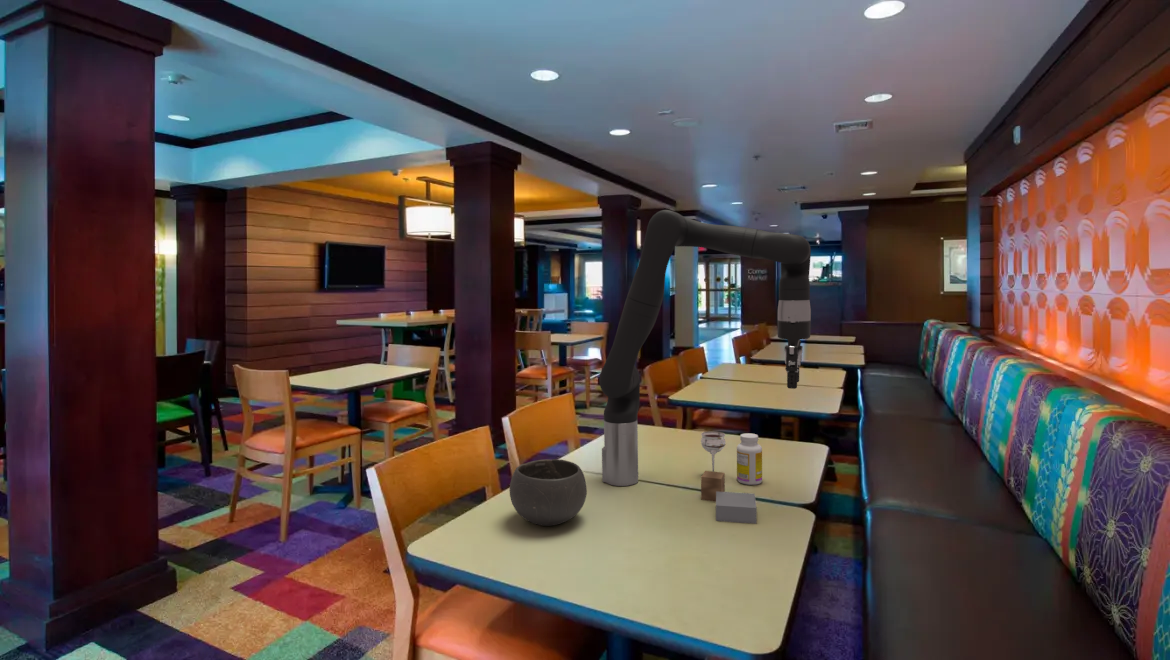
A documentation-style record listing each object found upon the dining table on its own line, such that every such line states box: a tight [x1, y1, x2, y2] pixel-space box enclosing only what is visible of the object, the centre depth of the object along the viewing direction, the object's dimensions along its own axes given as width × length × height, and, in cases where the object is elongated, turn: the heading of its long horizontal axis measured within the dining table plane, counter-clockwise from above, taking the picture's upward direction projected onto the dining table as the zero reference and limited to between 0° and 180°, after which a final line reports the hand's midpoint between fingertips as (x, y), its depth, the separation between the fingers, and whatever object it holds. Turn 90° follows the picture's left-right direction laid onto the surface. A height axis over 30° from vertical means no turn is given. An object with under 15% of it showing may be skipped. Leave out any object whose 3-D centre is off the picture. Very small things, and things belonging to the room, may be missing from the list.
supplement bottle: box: [736, 432, 763, 486], centre depth 162 cm, size 7×7×13 cm
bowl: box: [509, 458, 588, 527], centre depth 139 cm, size 18×18×13 cm
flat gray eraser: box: [715, 491, 758, 524], centre depth 140 cm, size 9×9×4 cm
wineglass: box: [700, 430, 727, 472], centre depth 167 cm, size 7×7×12 cm
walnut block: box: [700, 470, 726, 503], centre depth 151 cm, size 5×5×6 cm
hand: (793, 385), depth 145 cm, fingers open, 8 cm apart
